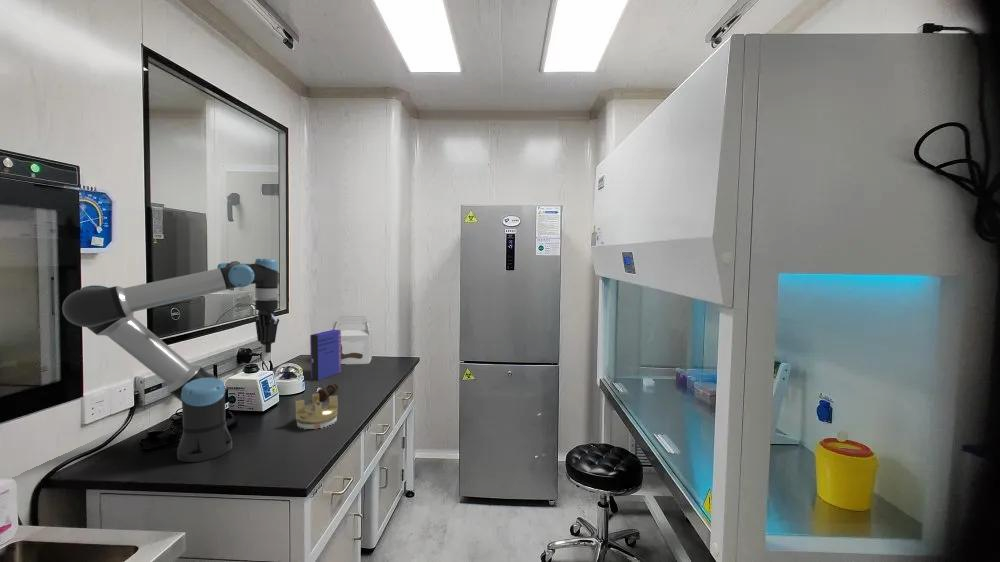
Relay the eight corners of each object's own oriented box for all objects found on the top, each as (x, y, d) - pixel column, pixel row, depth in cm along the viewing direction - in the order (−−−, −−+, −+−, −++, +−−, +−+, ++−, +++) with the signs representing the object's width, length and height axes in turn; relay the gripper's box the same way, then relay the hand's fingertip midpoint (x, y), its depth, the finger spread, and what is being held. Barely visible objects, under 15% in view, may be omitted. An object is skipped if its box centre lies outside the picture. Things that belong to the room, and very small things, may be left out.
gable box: (372, 358, 272) (371, 314, 270) (369, 363, 259) (369, 317, 257) (335, 359, 268) (334, 315, 266) (330, 365, 255) (330, 318, 253)
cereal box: (334, 371, 241) (333, 329, 240) (341, 372, 239) (340, 329, 238) (311, 380, 225) (310, 334, 223) (318, 381, 223) (317, 335, 222)
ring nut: (341, 419, 166) (340, 401, 165) (297, 426, 158) (297, 407, 158) (334, 407, 179) (334, 390, 178) (294, 413, 171) (293, 396, 171)
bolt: (336, 394, 208) (322, 404, 193) (327, 389, 208) (313, 398, 193) (342, 384, 207) (329, 393, 192) (333, 379, 207) (319, 387, 192)
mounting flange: (311, 432, 158) (311, 427, 158) (289, 424, 166) (289, 418, 166) (344, 420, 170) (344, 415, 170) (322, 412, 178) (322, 408, 178)
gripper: (286, 299, 163) (285, 361, 164) (266, 297, 170) (266, 356, 171) (266, 301, 156) (266, 365, 157) (247, 298, 163) (246, 360, 164)
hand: (266, 360), depth 164 cm, fingers closed
